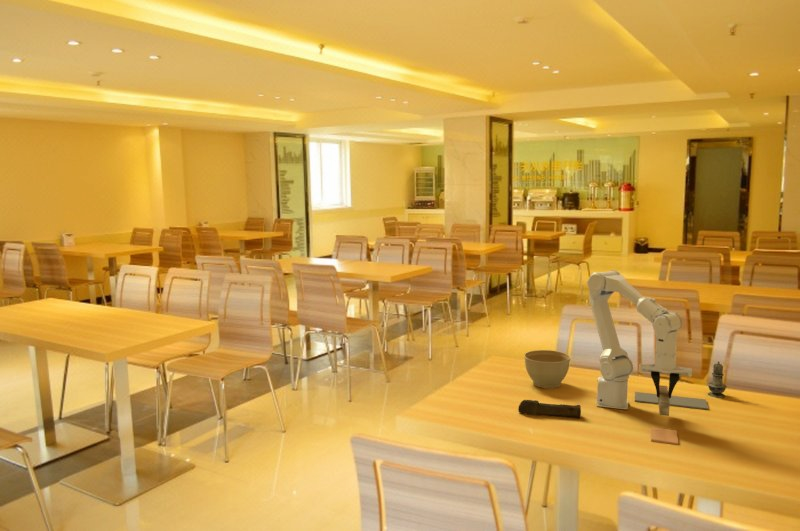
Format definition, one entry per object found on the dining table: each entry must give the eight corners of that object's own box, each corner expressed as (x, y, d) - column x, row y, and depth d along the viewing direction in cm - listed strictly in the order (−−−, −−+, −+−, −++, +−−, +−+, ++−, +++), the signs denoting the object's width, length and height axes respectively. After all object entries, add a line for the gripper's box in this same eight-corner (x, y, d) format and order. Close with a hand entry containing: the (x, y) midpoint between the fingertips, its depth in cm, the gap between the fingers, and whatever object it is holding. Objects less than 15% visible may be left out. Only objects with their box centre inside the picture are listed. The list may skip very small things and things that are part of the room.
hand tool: (580, 415, 191) (580, 401, 191) (580, 420, 187) (581, 405, 187) (519, 410, 196) (519, 396, 195) (518, 415, 192) (518, 400, 192)
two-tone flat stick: (659, 414, 177) (660, 401, 177) (658, 397, 192) (658, 385, 192) (669, 415, 177) (669, 402, 176) (666, 398, 191) (667, 386, 191)
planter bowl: (522, 377, 230) (522, 349, 228) (566, 378, 227) (567, 350, 226) (525, 391, 214) (525, 361, 212) (572, 393, 212) (573, 362, 210)
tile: (650, 432, 180) (650, 444, 171) (650, 427, 179) (650, 439, 171) (676, 436, 177) (677, 448, 169) (676, 430, 177) (678, 443, 168)
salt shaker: (728, 398, 205) (730, 364, 204) (709, 397, 206) (711, 363, 205) (723, 392, 211) (725, 359, 209) (704, 391, 212) (706, 358, 210)
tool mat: (634, 401, 203) (634, 400, 203) (635, 393, 211) (635, 391, 211) (708, 409, 195) (708, 408, 195) (705, 400, 203) (705, 399, 203)
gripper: (639, 354, 181) (637, 398, 183) (693, 358, 176) (691, 403, 178) (639, 348, 188) (638, 390, 190) (691, 352, 183) (689, 396, 184)
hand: (663, 396), depth 184 cm, fingers closed on two-tone flat stick, 2 cm apart
